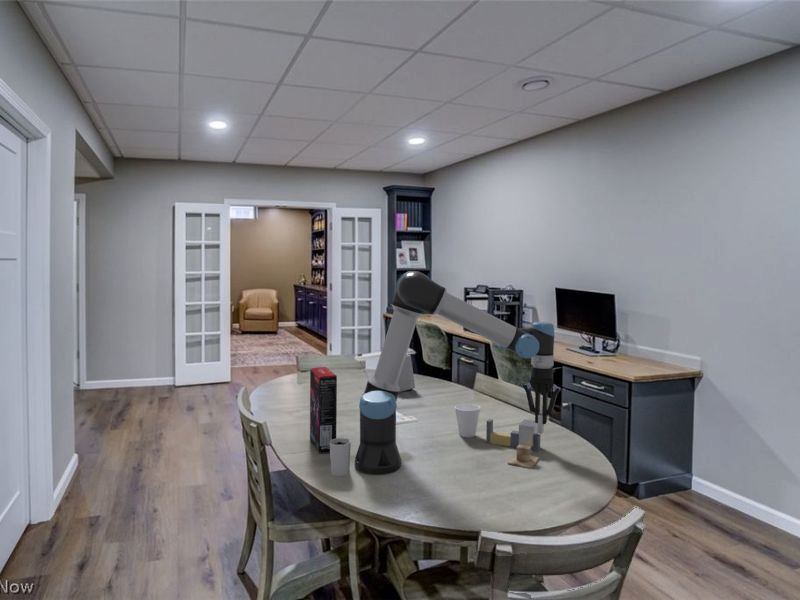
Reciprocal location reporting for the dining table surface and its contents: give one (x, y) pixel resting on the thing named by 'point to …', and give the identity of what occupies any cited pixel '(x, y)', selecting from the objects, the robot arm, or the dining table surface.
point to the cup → (467, 419)
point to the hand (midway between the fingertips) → (540, 432)
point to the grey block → (527, 432)
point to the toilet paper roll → (340, 456)
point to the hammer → (507, 437)
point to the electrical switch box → (406, 375)
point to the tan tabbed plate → (523, 457)
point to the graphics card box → (323, 408)
